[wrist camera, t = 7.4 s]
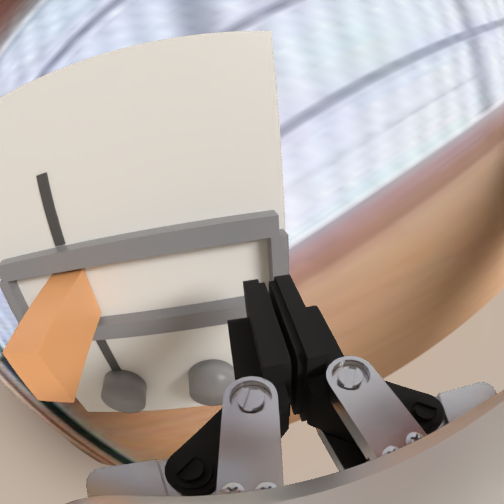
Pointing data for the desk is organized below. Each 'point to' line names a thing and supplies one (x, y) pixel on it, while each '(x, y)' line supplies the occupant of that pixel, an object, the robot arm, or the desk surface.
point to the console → (148, 207)
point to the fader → (55, 337)
